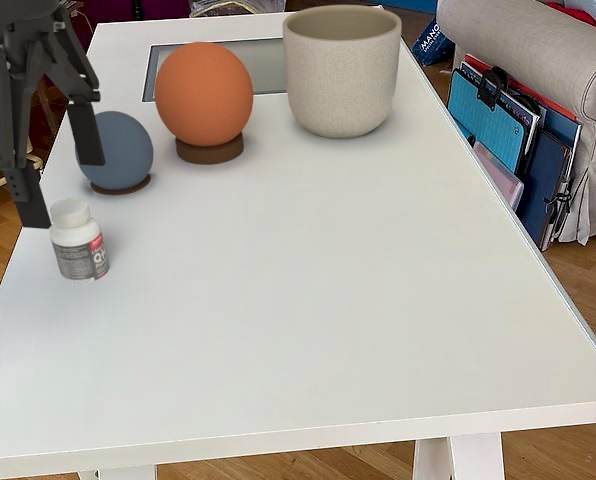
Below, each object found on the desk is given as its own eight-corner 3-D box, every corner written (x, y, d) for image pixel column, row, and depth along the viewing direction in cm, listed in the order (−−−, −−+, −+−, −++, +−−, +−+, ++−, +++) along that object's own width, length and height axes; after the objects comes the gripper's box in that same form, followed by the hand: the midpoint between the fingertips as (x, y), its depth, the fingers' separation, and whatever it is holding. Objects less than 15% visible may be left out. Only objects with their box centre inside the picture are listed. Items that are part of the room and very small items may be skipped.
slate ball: (74, 208, 96) (52, 128, 88) (103, 174, 103) (85, 97, 96) (145, 214, 94) (129, 132, 87) (169, 179, 101) (157, 100, 94)
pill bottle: (113, 292, 81) (94, 215, 75) (64, 300, 81) (41, 222, 74) (111, 266, 85) (93, 191, 79) (65, 273, 84) (42, 197, 78)
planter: (414, 137, 109) (423, 30, 99) (309, 157, 105) (307, 47, 95) (367, 98, 121) (371, -2, 111) (271, 114, 117) (266, 13, 107)
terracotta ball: (150, 167, 104) (131, 59, 94) (180, 127, 114) (166, 26, 104) (244, 173, 102) (235, 63, 92) (266, 132, 112) (260, 29, 102)
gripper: (-35, 5, 51) (47, 260, 66) (102, -70, 69) (142, 143, 83) (-128, 4, 53) (-28, 254, 67) (30, -69, 70) (82, 140, 85)
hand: (67, 193), depth 75 cm, fingers open, 13 cm apart
